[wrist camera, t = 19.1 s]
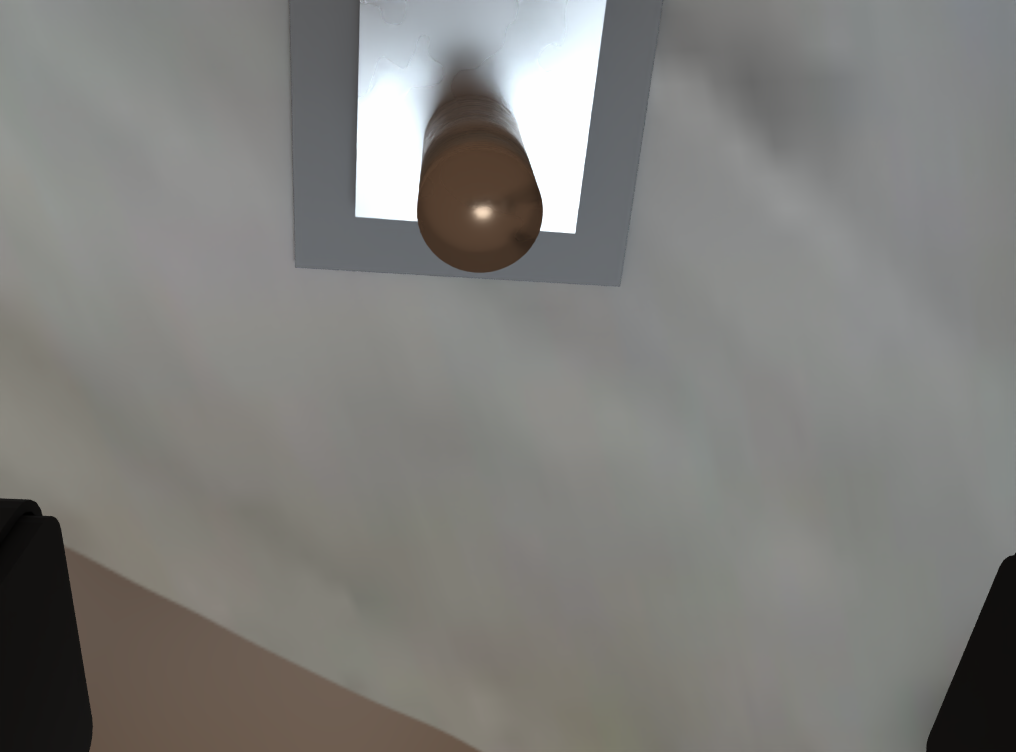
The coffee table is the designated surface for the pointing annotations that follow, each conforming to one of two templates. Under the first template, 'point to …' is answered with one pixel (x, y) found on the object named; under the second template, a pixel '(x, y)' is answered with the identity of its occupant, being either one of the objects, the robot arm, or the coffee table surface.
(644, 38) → the mat
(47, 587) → the robot arm
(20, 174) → the coffee table surface
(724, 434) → the coffee table surface
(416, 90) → the trowel
